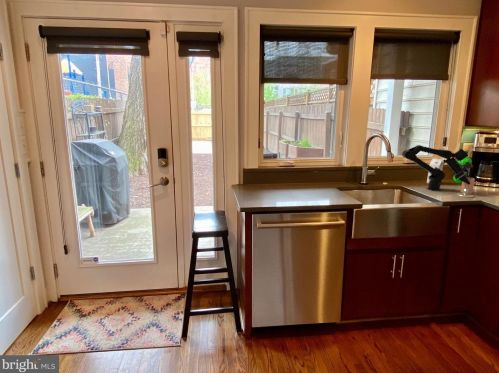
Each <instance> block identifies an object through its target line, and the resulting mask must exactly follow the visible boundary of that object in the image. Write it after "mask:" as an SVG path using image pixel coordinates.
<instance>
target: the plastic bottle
mask: <svg viewBox="0 0 499 373" xmlns="http://www.w3.org/2000/svg"><path fill="white" fill-rule="evenodd" d="M464 151H465V152H466V153H467V154H468V155H469V153H470V152H469V150H464ZM456 161H457V160H456ZM457 162H458V163H459V164H462V165H463V164H466V162H470V163H472V158H470V157H469V156H468V157H466V158H465V159H463V160H462V161H457ZM467 169H468V170H469V168H467ZM467 172H469V171H467ZM454 176H455V174H454V175H453V179H452V180H453V181H454V182H455V183H456V184H461V185H462V181H460V180H458V179H456V178H455V177H454Z"/></svg>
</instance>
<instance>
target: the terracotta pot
mask: <svg viewBox="0 0 499 373" xmlns="http://www.w3.org/2000/svg"><path fill="white" fill-rule="evenodd" d="M469 177H470V176H469ZM469 177H467V179H468V180H469V182H470V184H467V183H465V182H463V181H462V184H461V188H460V193H463V192H464V188H467V189H469V191H468V194H472V195H473V191H474V186H475V185H474V184H475V181H476V178H474V177H470V178H469Z"/></svg>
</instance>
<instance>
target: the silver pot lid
mask: <svg viewBox="0 0 499 373" xmlns="http://www.w3.org/2000/svg"><path fill="white" fill-rule="evenodd" d="M468 191H469V189H467V188H464V192H463V193H462V192H457V193H456V196H458V197H462V198H467V199H468V198H470V199H473V198H474V197H475V195H474V194H473V193H472V194H468Z"/></svg>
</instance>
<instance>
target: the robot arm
mask: <svg viewBox="0 0 499 373" xmlns="http://www.w3.org/2000/svg"><path fill="white" fill-rule="evenodd" d="M465 151H466V150H464V149H463V148H460V149H459V150H457V151H455V152H452V151H451V150H447V149H443V148H442V149H438V148H437V149H436V148H431V147H427V146H423V145H421V144H416V145H415V146H413V147H411V148H409V149H405V150H403V151H402V153H401V155H402V157H403V159H406V160H409V161H411V162H413V163H414V164H416V165H418V166H419V167H421V168H423V169H424V170H425V171H427V172H429V173H430V174H431V175H430V176H429V183H428V186H427V187H426V189H428V190H430V191H441V183H442V182H443V180H444V179H445V178H446V173H445V171H444V170H442V171H441V170H440V169H439V168H437V167H435V169H434V168H433V167H431V166H429V165H430V164H428V163H426V161H424V160H422V159H420V158H419V157H418V156H417V154H419V153H420V152H422V153H428V154H432V155H435V156H438V157H440V158H441V159H442V162H443V165H445V164H447V166H449V168H450V170H451V171H453V172H454V175H455V176H454V175H453V177H455V178H456V179H458V180H460V181H463V182H465V183H467V184H470V182H469V180H468V179H467V177H469V178H471V177H470V176H469V174H470V170H469V169H471V168H473V167H474V166H473V163H472V162H471V163H470V162H466V164H463V165H462V164H459V163H458V162H457V161H462V160H463V159H465V158H466V157H469V153H468V154H467V153H466V152H465ZM456 160H457V161H456ZM467 168H468V169H467ZM467 171H468V172H467Z"/></svg>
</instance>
